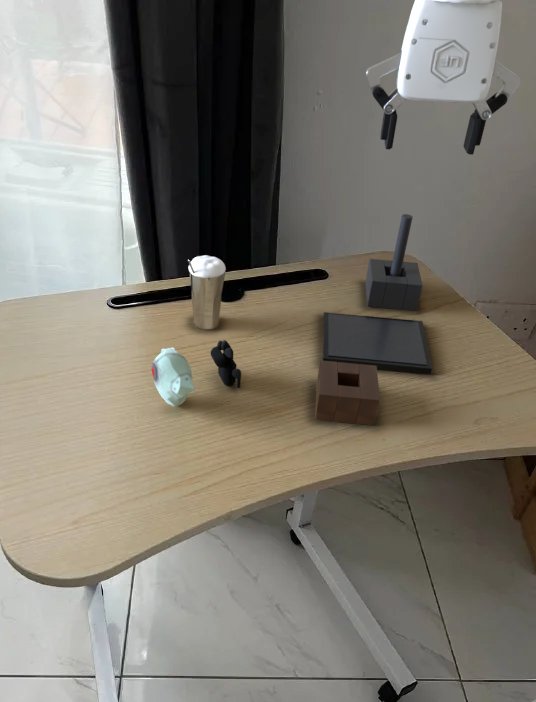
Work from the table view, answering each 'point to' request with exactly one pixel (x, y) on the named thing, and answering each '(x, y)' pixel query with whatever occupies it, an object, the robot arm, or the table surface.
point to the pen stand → (347, 393)
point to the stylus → (401, 245)
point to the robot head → (172, 376)
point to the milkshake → (206, 290)
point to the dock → (393, 285)
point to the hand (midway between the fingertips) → (427, 148)
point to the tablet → (376, 342)
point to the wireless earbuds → (226, 364)
